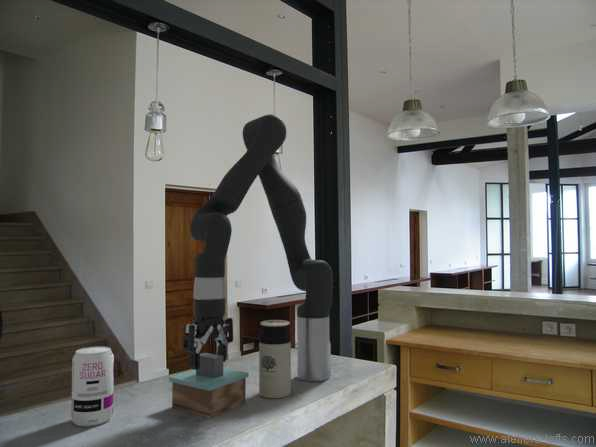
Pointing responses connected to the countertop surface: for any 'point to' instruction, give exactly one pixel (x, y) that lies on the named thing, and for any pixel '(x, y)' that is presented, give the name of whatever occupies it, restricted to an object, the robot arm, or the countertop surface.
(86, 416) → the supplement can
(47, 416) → the countertop surface
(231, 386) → the box
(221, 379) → the lid
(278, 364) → the travel mug
